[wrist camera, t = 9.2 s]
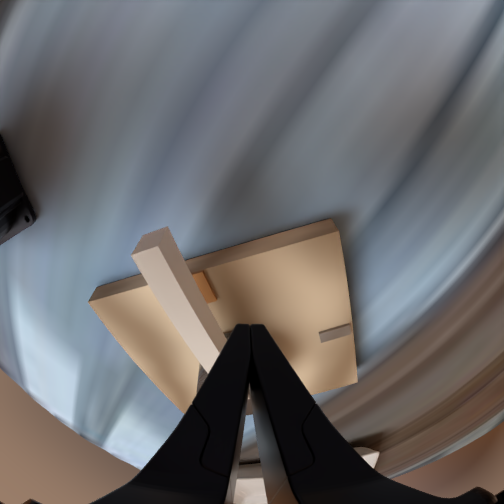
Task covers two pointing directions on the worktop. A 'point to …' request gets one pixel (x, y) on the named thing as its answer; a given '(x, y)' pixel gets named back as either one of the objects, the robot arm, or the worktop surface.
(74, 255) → the worktop surface
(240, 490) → the square plate
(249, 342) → the robot arm
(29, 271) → the worktop surface
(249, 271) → the board
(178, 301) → the wooden latch lever
